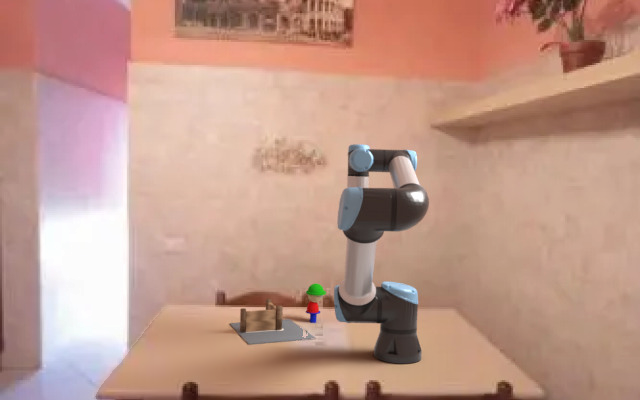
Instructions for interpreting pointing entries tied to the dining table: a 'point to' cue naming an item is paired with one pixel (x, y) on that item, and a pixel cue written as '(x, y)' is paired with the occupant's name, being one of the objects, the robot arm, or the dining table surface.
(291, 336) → the mat
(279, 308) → the fence fixed
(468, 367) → the dining table surface
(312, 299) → the toy
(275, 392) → the dining table surface
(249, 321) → the fence panel
